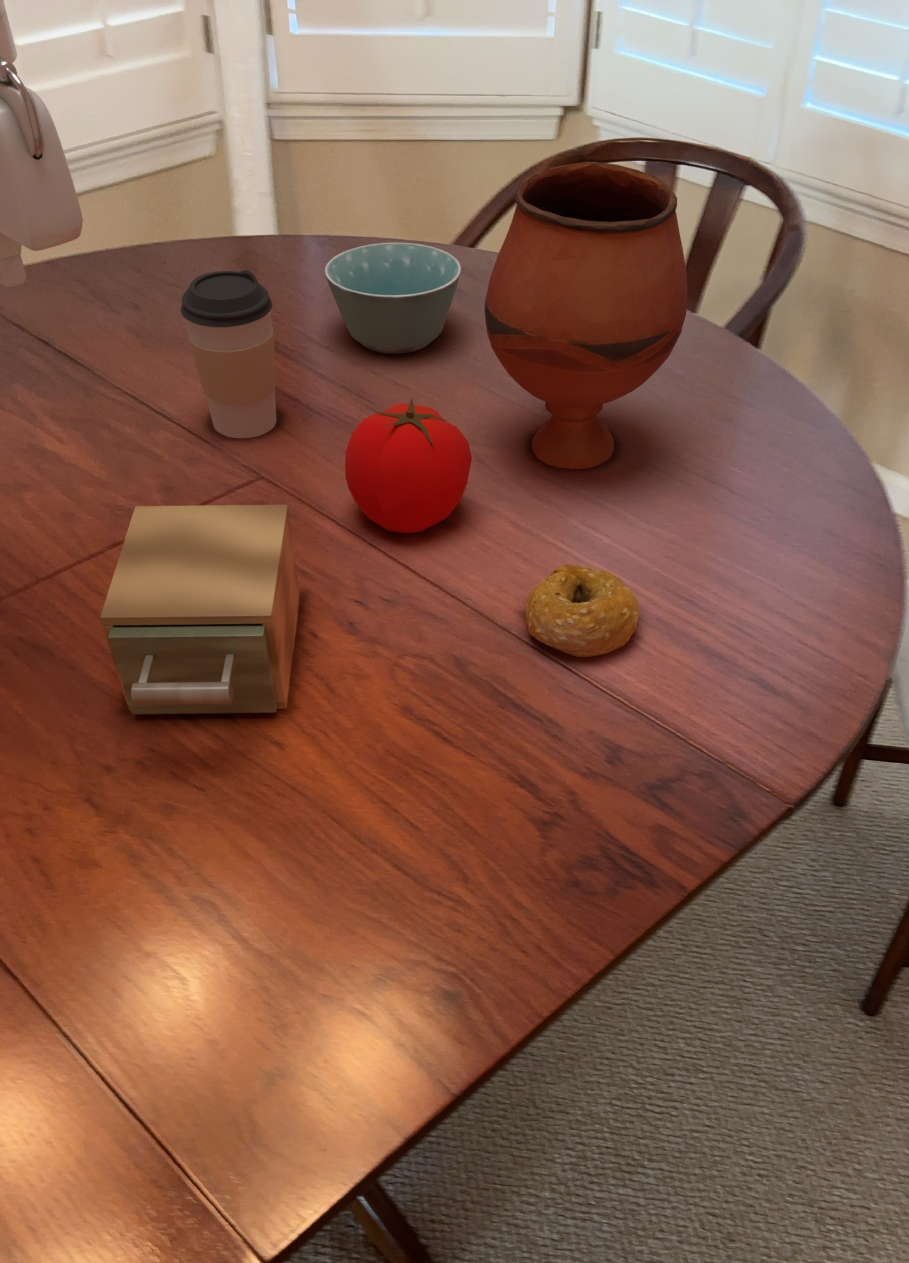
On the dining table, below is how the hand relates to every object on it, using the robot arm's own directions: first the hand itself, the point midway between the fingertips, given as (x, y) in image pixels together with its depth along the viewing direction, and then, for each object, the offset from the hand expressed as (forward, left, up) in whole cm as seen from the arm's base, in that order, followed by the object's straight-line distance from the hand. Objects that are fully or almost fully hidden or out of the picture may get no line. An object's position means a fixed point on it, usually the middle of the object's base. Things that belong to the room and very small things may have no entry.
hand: (5, 279), depth 71 cm
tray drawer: (+10, -8, -28) cm, 31 cm away
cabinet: (+10, -4, -29) cm, 31 cm away
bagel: (+41, -1, -29) cm, 50 cm away
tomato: (+26, +16, -29) cm, 42 cm away
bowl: (+24, +54, -29) cm, 66 cm away
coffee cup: (+8, +34, -29) cm, 46 cm away
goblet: (+43, +28, -29) cm, 59 cm away
